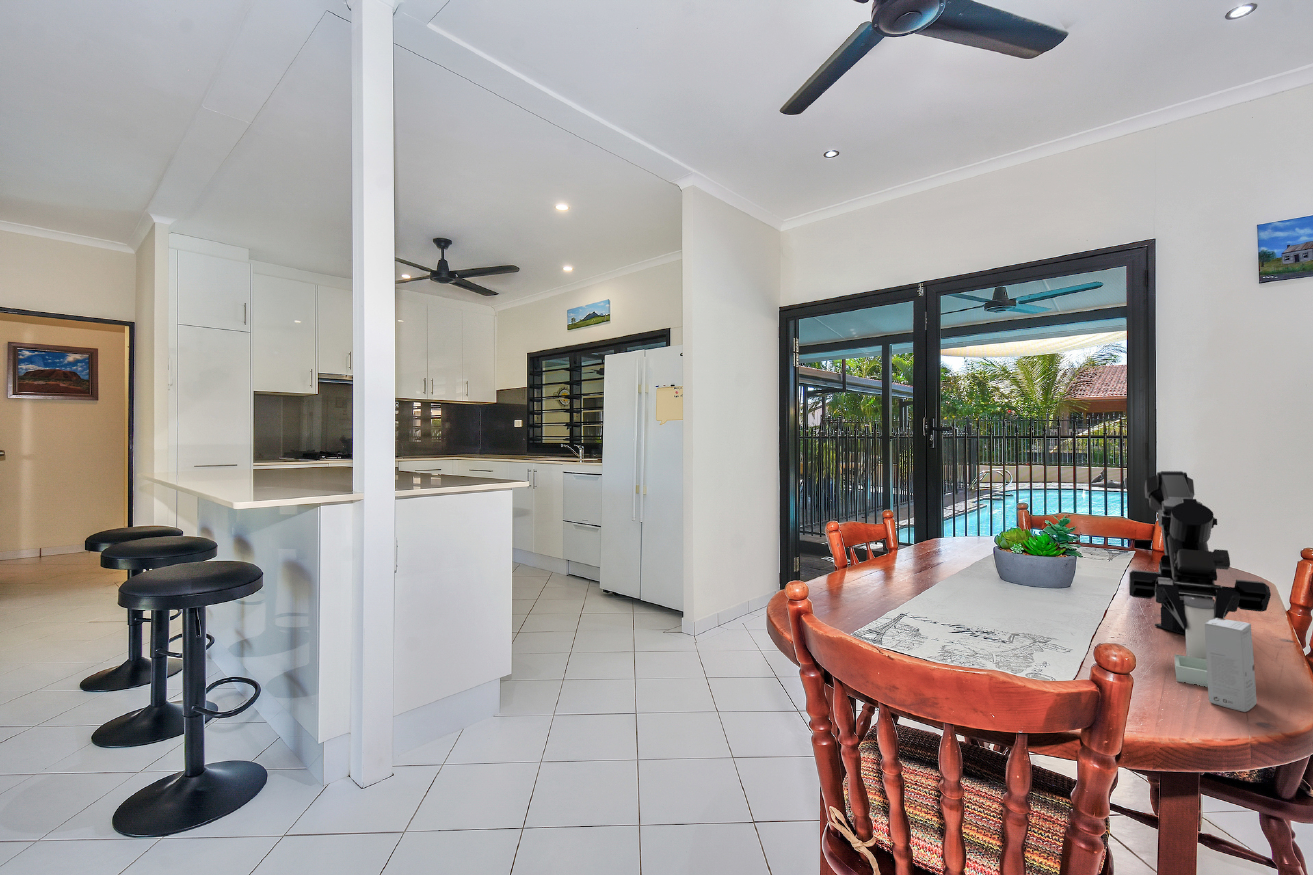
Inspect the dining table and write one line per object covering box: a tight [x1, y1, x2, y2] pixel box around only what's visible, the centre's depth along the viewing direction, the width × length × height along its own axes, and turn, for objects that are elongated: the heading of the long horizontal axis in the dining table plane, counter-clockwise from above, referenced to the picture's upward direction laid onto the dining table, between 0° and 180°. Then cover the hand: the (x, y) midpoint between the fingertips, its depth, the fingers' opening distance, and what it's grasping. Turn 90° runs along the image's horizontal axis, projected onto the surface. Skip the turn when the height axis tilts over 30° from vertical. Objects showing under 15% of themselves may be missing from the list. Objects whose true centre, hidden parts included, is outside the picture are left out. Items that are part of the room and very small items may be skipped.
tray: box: [1174, 653, 1208, 688], centre depth 95 cm, size 7×7×2 cm
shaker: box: [1184, 595, 1215, 659], centre depth 101 cm, size 4×4×12 cm
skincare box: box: [1205, 618, 1257, 713], centre depth 86 cm, size 6×4×12 cm
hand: (1201, 630), depth 100 cm, fingers closed on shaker, 4 cm apart
